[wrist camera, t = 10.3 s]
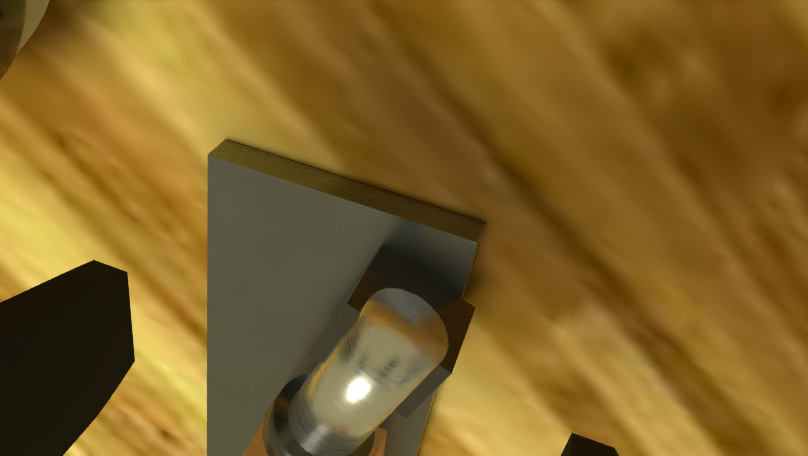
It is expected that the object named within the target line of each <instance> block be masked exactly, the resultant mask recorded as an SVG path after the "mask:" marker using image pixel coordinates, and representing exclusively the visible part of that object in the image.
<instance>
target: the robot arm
mask: <svg viewBox="0 0 808 456" xmlns="http://www.w3.org/2000/svg"><path fill="white" fill-rule="evenodd" d="M134 361H135V357H134V345H133V334H132V322H131V310H130V299H129V287H128V275H127V272H126V271H123V270H120V269H117V268H114V267H112V266H109V265H106V264H103V263H101V262H98V261H95V260H93V261H90V262H88V263H86V264H83V265H81V266H79V267H77V268H74V269H72V270H70V271H68V272H65V273H63V274H61V275H59V276H57V277H55V278H52V279H50V280H48V281H46V282H44V283H42V284H40V285H37V286H35V287H33V288H31V289H29V290H27V291H25V292H22V293H20V294H18V295H16V296H14V297H12V298H10V299H7V300H5V301H3V302H1V303H0V456H63V455H64V454H65V452H66V451H67V450H68V449H69V448H70V447H71V446H72V444H73V443H74V442H75V441H76V440H77V439H78V438H79V436H80V435H81V434H82V433H83V432H84V431H85V430H86V428H87V427H88V426H89V425H90V424H91V423H92V421H93V420H94V419H95V418H96V417H97V416H98V414H99V413H100V411H101V410H102V409H103V407H104V406H105V404H106V403H107V402H108V400H109V399H110V397H111V396H112V395H113V393H114V392H115V390H116V389H117V387H118V386H119V384H120V383H121V381H122V380H123V378H124V377H125V375H126V374H127V372H128V371H129V369H130V368H131V366H132V364H133V363H134ZM561 456H619V455H618V454H617V452H616V450H615V448H613V447H610V446H607V445H605V444H602V443H599V442H596V441H594V440H591V439H588V438H585V437H583V436H580V435H577V434H574V433H572V434H571V436H570V438H569V440H568V442H567V444H566V446H565V448H564V450H563V452H562V454H561Z"/></svg>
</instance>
